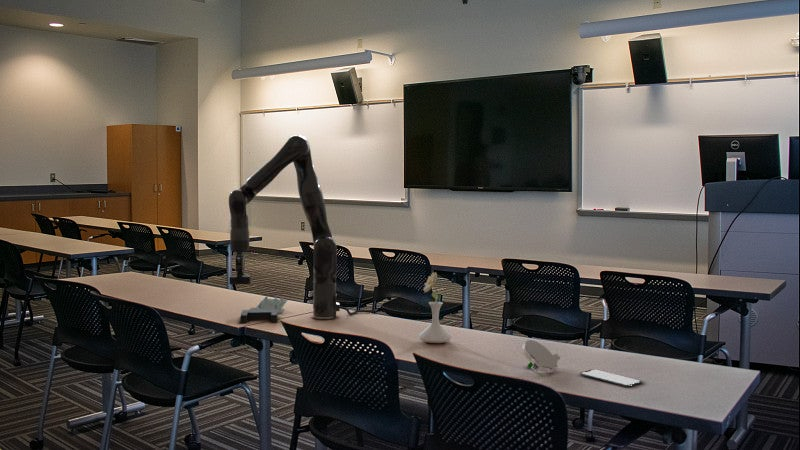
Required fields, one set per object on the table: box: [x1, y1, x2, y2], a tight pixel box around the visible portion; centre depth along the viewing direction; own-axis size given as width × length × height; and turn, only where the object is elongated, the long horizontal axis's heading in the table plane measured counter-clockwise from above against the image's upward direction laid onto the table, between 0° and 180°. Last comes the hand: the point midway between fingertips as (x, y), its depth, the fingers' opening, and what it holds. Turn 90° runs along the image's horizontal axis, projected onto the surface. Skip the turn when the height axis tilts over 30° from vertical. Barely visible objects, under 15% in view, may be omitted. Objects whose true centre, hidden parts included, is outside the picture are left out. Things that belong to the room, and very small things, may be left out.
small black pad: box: [229, 274, 252, 285], centre depth 290 cm, size 8×5×3 cm, turn 98°
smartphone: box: [579, 368, 642, 387], centre depth 205 cm, size 8×1×16 cm
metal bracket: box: [249, 296, 288, 315], centre depth 306 cm, size 14×6×15 cm
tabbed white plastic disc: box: [521, 339, 562, 374], centre depth 215 cm, size 15×8×11 cm, turn 143°
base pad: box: [239, 309, 278, 324], centre depth 285 cm, size 14×12×3 cm
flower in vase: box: [418, 271, 453, 344], centre depth 248 cm, size 13×11×25 cm
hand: (240, 280), depth 290 cm, fingers closed on small black pad, 5 cm apart
